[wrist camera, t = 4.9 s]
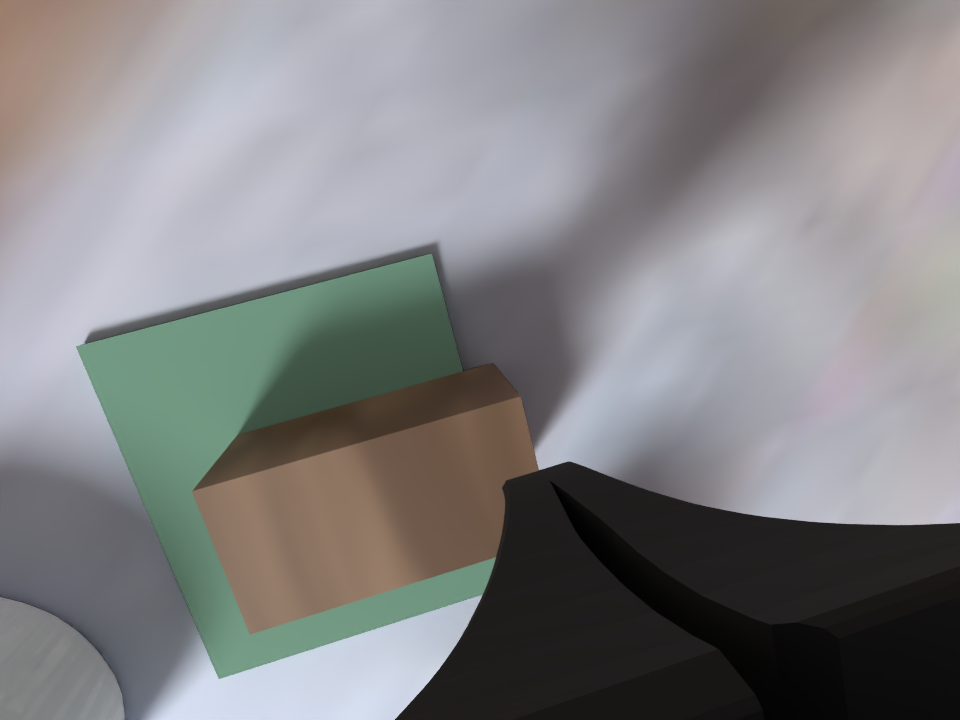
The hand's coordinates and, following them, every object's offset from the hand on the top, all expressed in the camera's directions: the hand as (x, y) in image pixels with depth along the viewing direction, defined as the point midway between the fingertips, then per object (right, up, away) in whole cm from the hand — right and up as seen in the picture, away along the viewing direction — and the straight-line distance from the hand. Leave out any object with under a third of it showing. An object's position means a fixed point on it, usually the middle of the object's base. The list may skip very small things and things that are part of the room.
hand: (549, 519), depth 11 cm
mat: (-6, 0, +5) cm, 8 cm away
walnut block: (0, +1, +4) cm, 4 cm away
